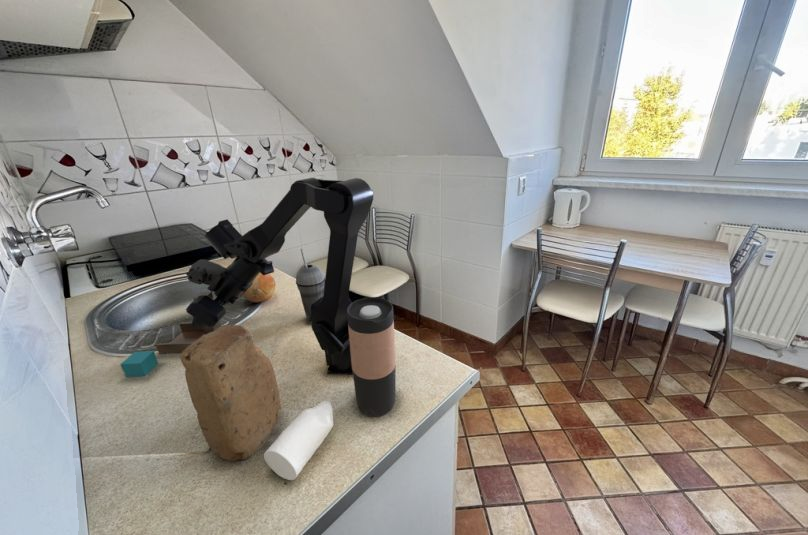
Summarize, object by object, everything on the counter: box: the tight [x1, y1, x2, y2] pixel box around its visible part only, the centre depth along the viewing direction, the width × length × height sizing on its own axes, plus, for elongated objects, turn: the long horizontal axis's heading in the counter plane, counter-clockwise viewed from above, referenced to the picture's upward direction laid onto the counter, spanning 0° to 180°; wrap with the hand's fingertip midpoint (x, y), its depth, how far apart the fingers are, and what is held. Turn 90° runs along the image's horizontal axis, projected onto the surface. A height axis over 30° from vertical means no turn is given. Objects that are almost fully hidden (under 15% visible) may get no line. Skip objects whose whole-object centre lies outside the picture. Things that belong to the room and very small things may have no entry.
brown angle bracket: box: [155, 291, 222, 355], centre depth 75 cm, size 12×9×13 cm
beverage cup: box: [295, 248, 325, 324], centre depth 83 cm, size 7×7×20 cm
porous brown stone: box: [180, 324, 282, 462], centre depth 50 cm, size 11×8×20 cm
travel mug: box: [347, 296, 397, 418], centre depth 56 cm, size 8×8×20 cm
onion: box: [241, 273, 276, 303], centre depth 95 cm, size 10×10×10 cm
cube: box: [120, 350, 159, 378], centre depth 67 cm, size 4×4×4 cm
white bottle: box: [263, 400, 334, 481], centre depth 51 cm, size 6×12×6 cm, turn 156°
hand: (203, 318), depth 75 cm, fingers open, 9 cm apart
